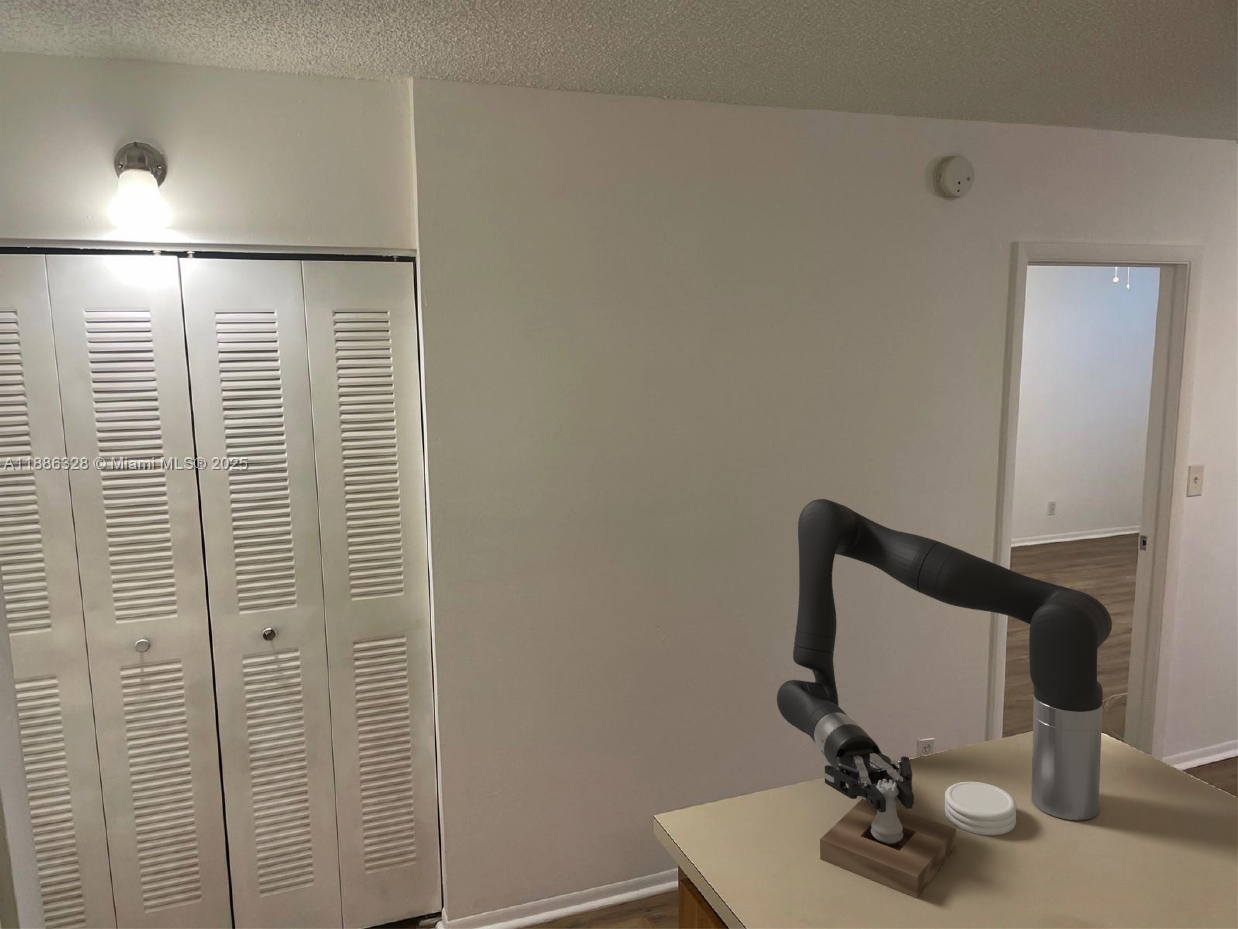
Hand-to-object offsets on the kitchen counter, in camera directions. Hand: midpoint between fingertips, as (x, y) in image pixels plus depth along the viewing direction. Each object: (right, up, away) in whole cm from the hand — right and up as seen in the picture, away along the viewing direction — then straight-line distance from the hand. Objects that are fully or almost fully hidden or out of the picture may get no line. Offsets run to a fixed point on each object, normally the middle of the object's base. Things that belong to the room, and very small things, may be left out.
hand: (896, 804), depth 116 cm
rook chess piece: (0, -6, +4) cm, 7 cm away
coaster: (+17, -7, +12) cm, 22 cm away
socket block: (0, -9, +4) cm, 9 cm away
